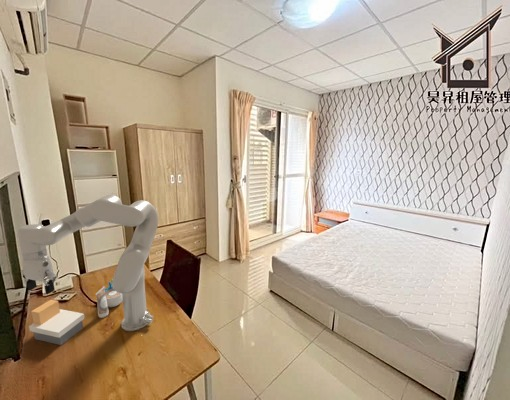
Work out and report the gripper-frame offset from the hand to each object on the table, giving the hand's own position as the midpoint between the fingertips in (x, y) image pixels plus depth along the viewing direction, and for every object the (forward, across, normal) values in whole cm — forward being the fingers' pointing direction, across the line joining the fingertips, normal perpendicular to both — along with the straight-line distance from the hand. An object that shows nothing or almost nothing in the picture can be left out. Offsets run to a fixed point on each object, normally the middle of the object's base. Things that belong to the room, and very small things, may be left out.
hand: (41, 290), depth 99 cm
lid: (+16, -6, 0) cm, 17 cm away
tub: (+21, -6, 0) cm, 21 cm away
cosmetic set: (+21, -14, -23) cm, 34 cm away
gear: (+17, -1, -31) cm, 35 cm away
